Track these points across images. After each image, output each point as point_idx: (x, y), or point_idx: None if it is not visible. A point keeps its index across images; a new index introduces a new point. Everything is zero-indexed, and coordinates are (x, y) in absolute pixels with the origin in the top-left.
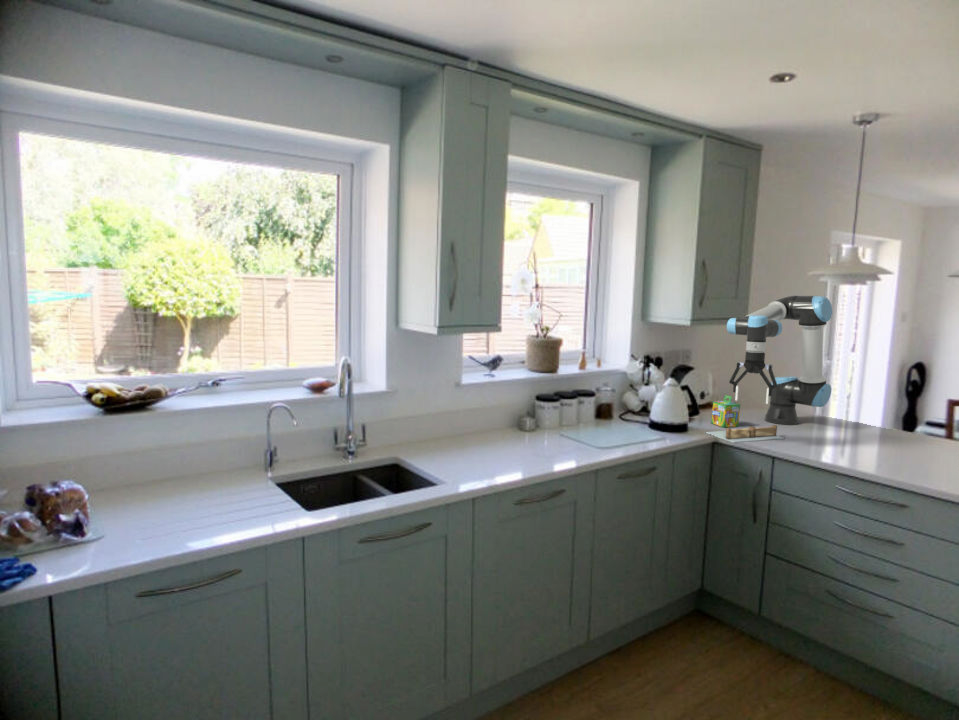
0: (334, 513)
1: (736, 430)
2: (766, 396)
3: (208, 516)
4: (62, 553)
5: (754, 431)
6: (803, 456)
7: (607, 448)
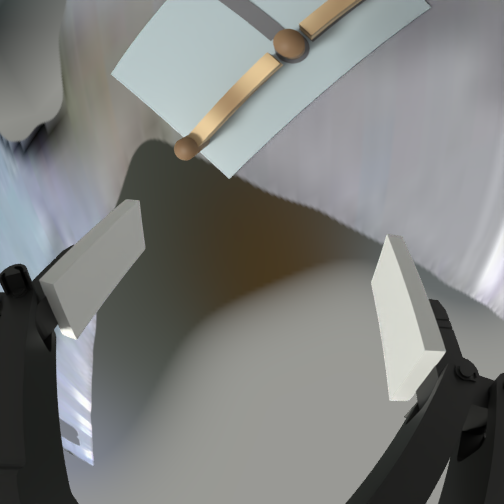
0: (86, 448)
1: (220, 122)
2: (381, 330)
3: (65, 443)
4: (75, 455)
5: (304, 47)
6: (448, 262)
7: None
